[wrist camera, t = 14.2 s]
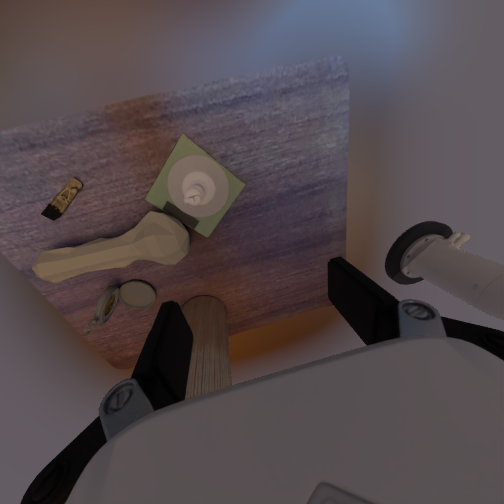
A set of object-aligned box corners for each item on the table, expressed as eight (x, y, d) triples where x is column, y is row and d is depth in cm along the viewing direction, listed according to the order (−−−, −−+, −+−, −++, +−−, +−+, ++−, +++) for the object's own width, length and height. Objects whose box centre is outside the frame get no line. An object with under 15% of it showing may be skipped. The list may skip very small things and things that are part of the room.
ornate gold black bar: (57, 221, 29) (53, 222, 29) (43, 213, 29) (39, 214, 28) (85, 184, 28) (82, 185, 27) (72, 174, 27) (68, 175, 26)
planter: (191, 334, 44) (171, 477, 24) (172, 303, 40) (128, 449, 20) (231, 320, 45) (245, 450, 25) (217, 289, 40) (220, 416, 20)
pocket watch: (162, 300, 39) (146, 341, 30) (122, 312, 39) (93, 357, 30) (143, 268, 35) (119, 304, 26) (98, 280, 35) (58, 321, 26)
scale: (185, 135, 28) (181, 132, 25) (243, 183, 32) (246, 185, 29) (149, 197, 30) (143, 200, 28) (208, 233, 35) (207, 239, 32)
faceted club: (202, 252, 35) (70, 285, 34) (189, 207, 33) (50, 240, 33) (190, 264, 26) (13, 308, 26) (171, 204, 25) (-18, 249, 24)
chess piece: (176, 175, 27) (157, 181, 18) (210, 167, 27) (207, 169, 18) (188, 208, 29) (176, 228, 20) (219, 200, 30) (221, 217, 21)
